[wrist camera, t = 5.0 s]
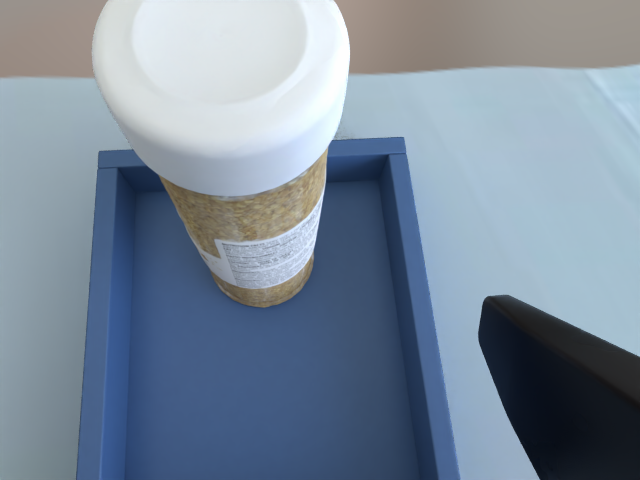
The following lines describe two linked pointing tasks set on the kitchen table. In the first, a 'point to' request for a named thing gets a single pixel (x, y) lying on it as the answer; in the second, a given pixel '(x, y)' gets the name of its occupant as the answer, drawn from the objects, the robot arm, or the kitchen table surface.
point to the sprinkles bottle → (232, 124)
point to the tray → (264, 342)
